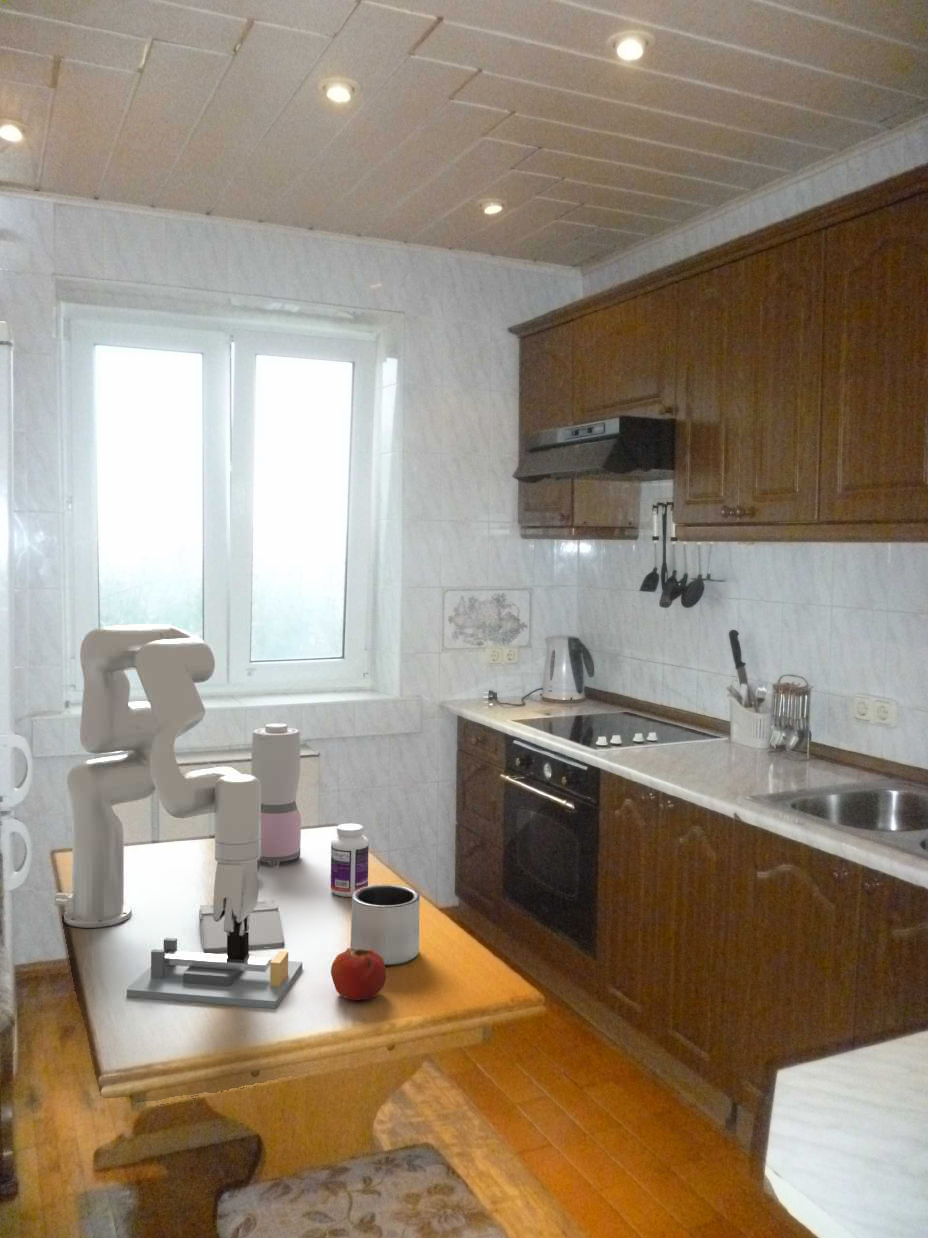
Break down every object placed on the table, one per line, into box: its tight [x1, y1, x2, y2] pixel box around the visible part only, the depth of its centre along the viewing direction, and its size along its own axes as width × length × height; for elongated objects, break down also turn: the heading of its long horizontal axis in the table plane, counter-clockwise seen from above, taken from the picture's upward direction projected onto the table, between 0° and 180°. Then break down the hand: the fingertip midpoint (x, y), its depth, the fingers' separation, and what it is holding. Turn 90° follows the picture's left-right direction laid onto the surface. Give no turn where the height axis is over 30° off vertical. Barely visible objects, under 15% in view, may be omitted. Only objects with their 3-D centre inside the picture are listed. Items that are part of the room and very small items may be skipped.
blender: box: [250, 723, 302, 868], centre depth 245 cm, size 16×12×32 cm
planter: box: [349, 884, 421, 967], centre depth 189 cm, size 12×12×11 cm
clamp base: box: [126, 937, 303, 1009], centre depth 176 cm, size 25×16×6 cm, turn 83°
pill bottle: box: [330, 822, 370, 898], centre depth 223 cm, size 8×8×14 cm
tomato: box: [330, 947, 387, 1001], centre depth 172 cm, size 9×9×8 cm
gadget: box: [198, 899, 286, 953], centre depth 201 cm, size 23×15×4 cm, turn 16°
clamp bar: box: [165, 950, 272, 972], centre depth 176 cm, size 19×4×2 cm, turn 83°
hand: (237, 956), depth 175 cm, fingers closed
